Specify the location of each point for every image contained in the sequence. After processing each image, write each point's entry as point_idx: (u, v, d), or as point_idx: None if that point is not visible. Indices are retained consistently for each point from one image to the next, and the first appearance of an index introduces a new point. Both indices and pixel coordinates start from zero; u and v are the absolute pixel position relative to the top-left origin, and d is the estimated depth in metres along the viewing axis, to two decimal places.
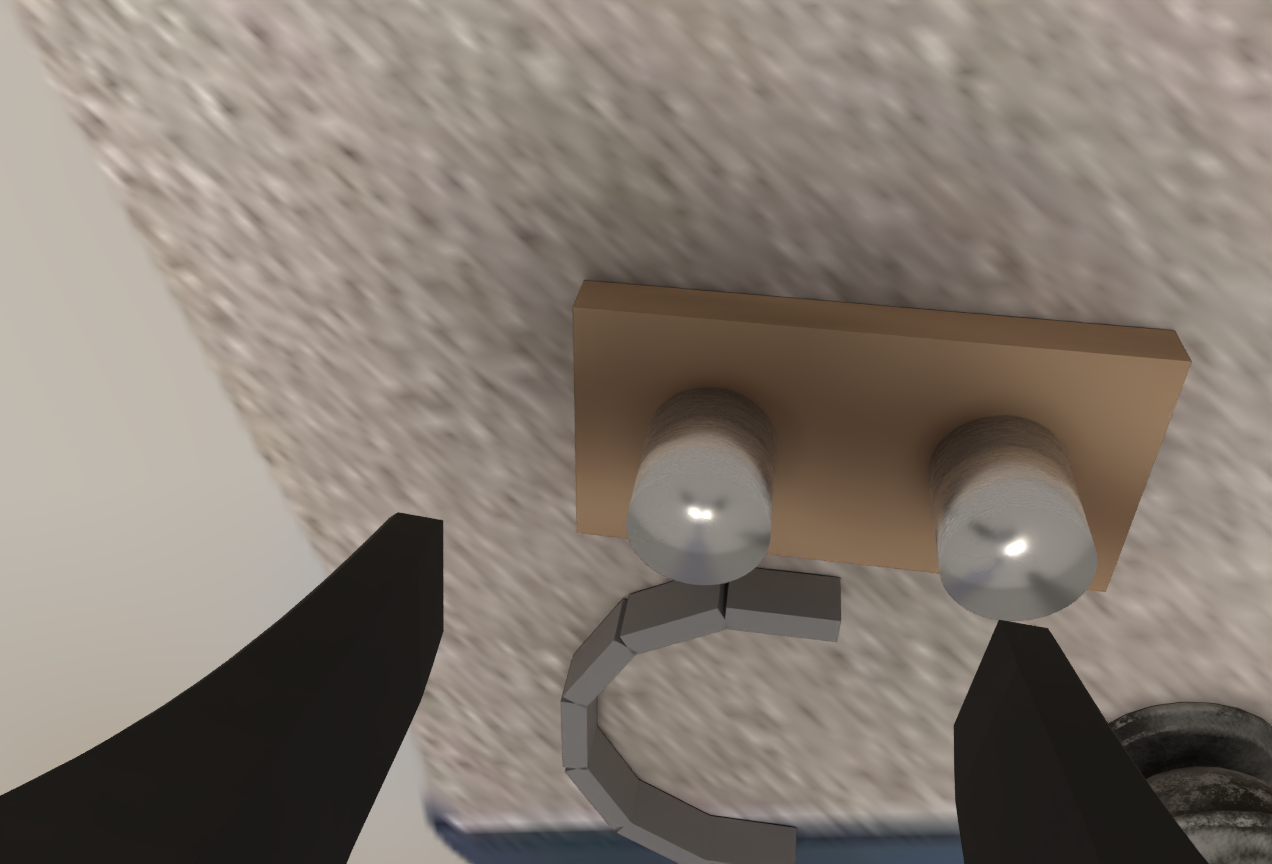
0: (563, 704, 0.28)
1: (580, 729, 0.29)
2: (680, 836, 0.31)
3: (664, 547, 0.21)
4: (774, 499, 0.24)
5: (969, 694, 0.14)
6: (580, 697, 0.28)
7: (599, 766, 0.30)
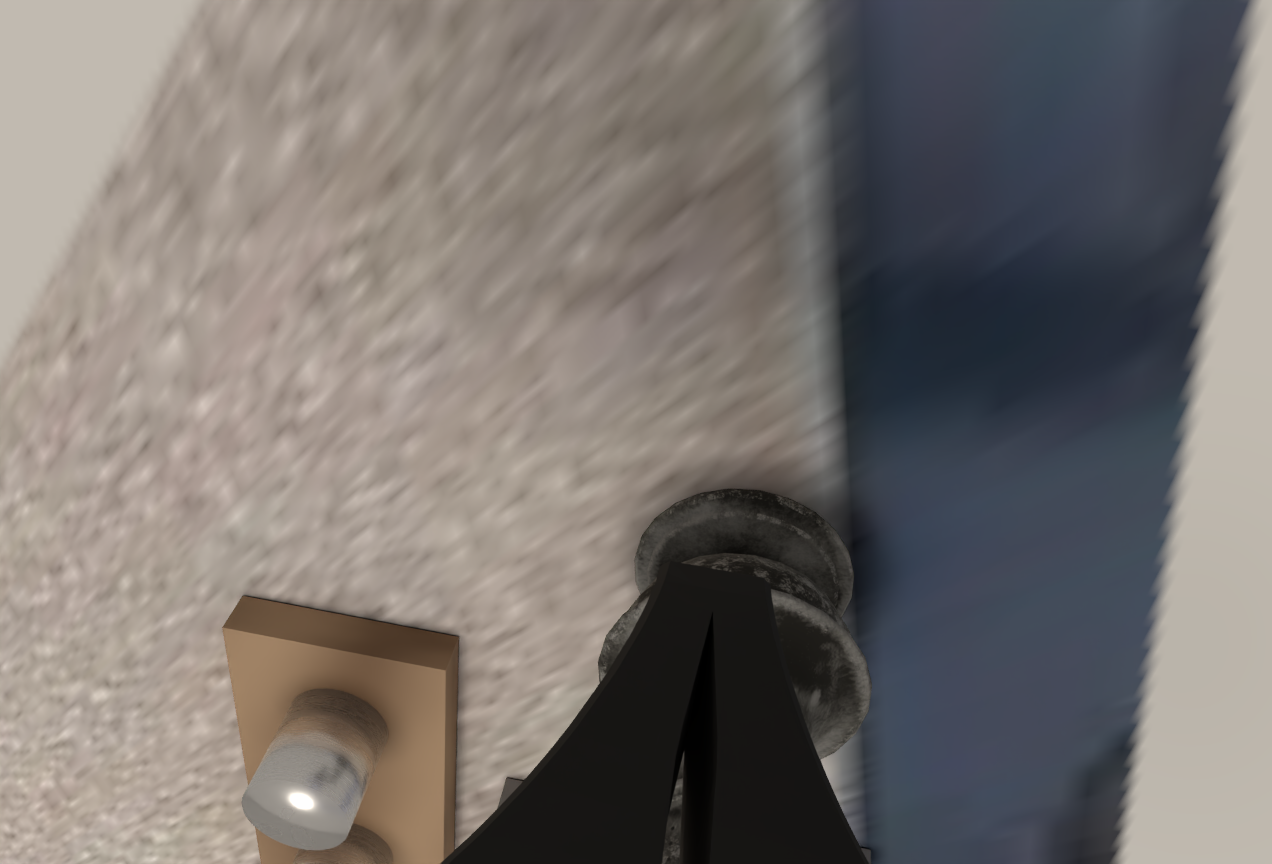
0: None
1: None
2: None
3: None
4: (391, 828, 0.32)
5: None
6: None
7: None
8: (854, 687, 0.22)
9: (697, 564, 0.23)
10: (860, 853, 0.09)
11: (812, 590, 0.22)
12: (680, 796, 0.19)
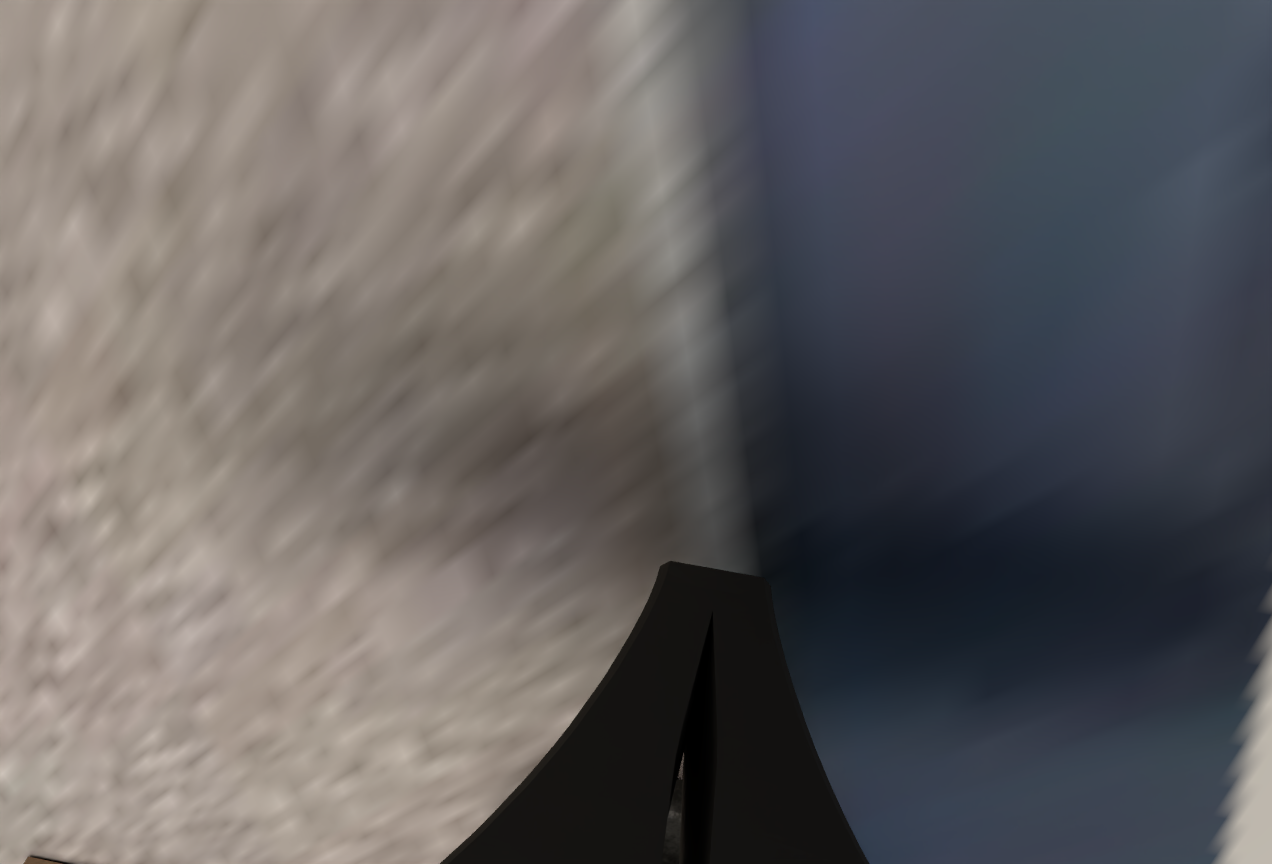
0: None
1: None
2: None
3: None
4: None
5: None
6: None
7: None
8: None
9: None
10: (860, 853, 0.09)
11: None
12: None
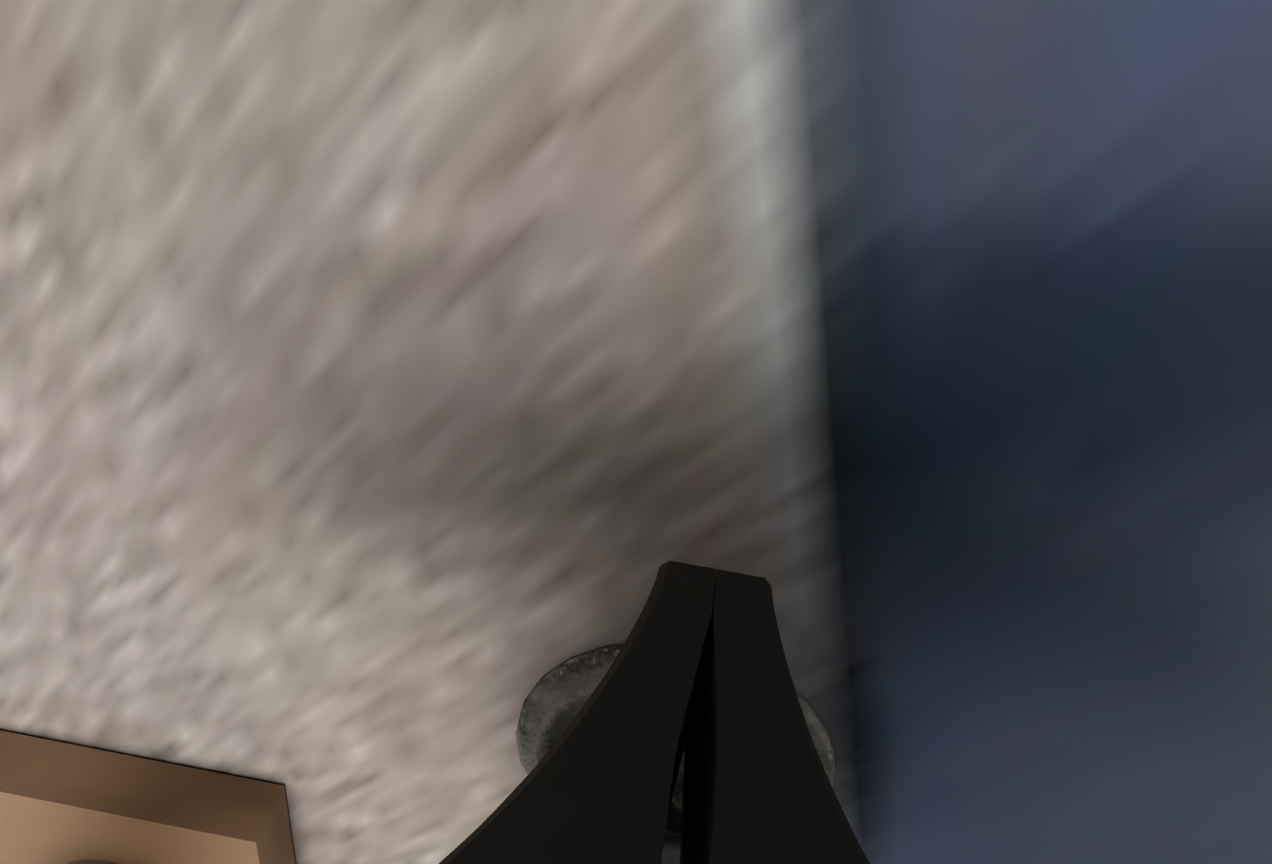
0: None
1: None
2: None
3: None
4: None
5: None
6: None
7: None
8: None
9: None
10: (861, 853, 0.09)
11: None
12: None
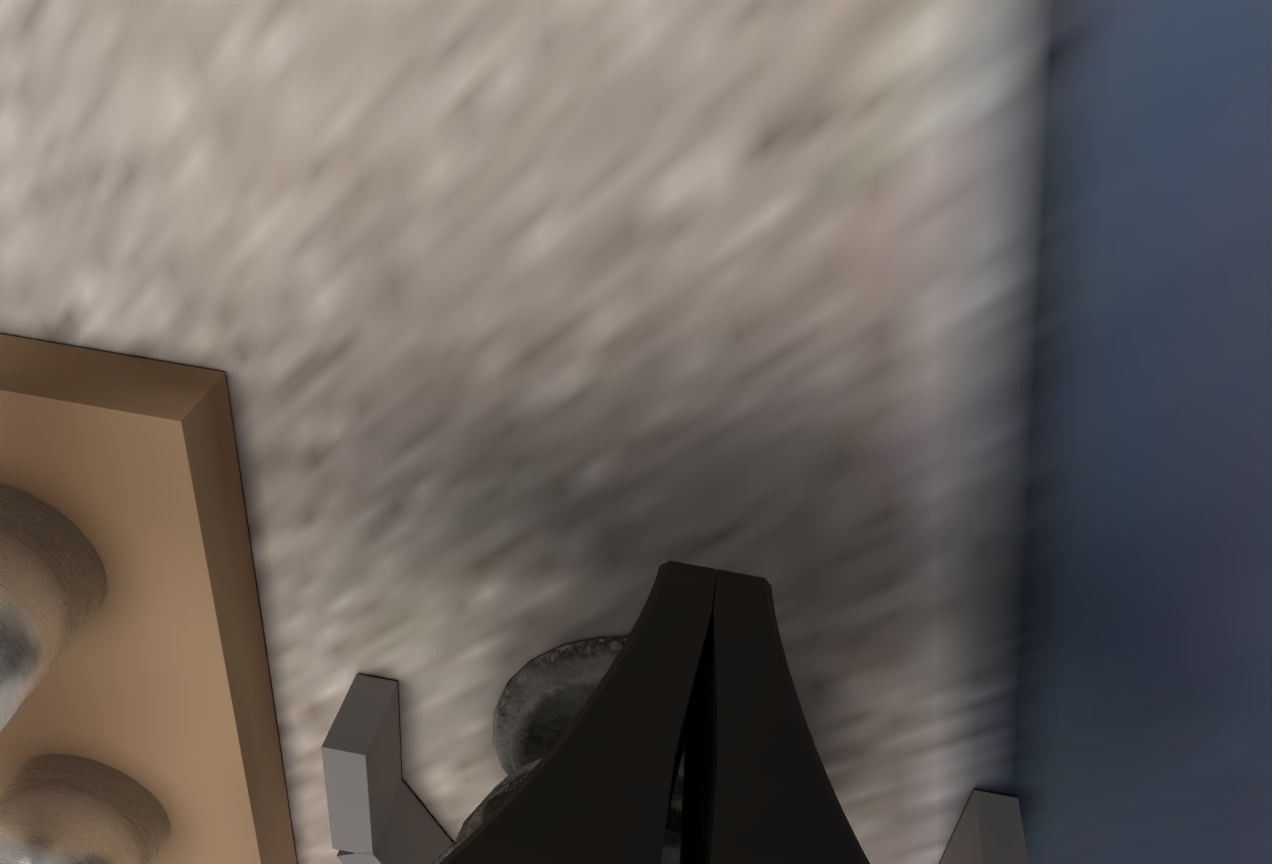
0: None
1: None
2: None
3: None
4: (155, 767, 0.18)
5: None
6: None
7: None
8: None
9: None
10: (861, 853, 0.09)
11: None
12: None
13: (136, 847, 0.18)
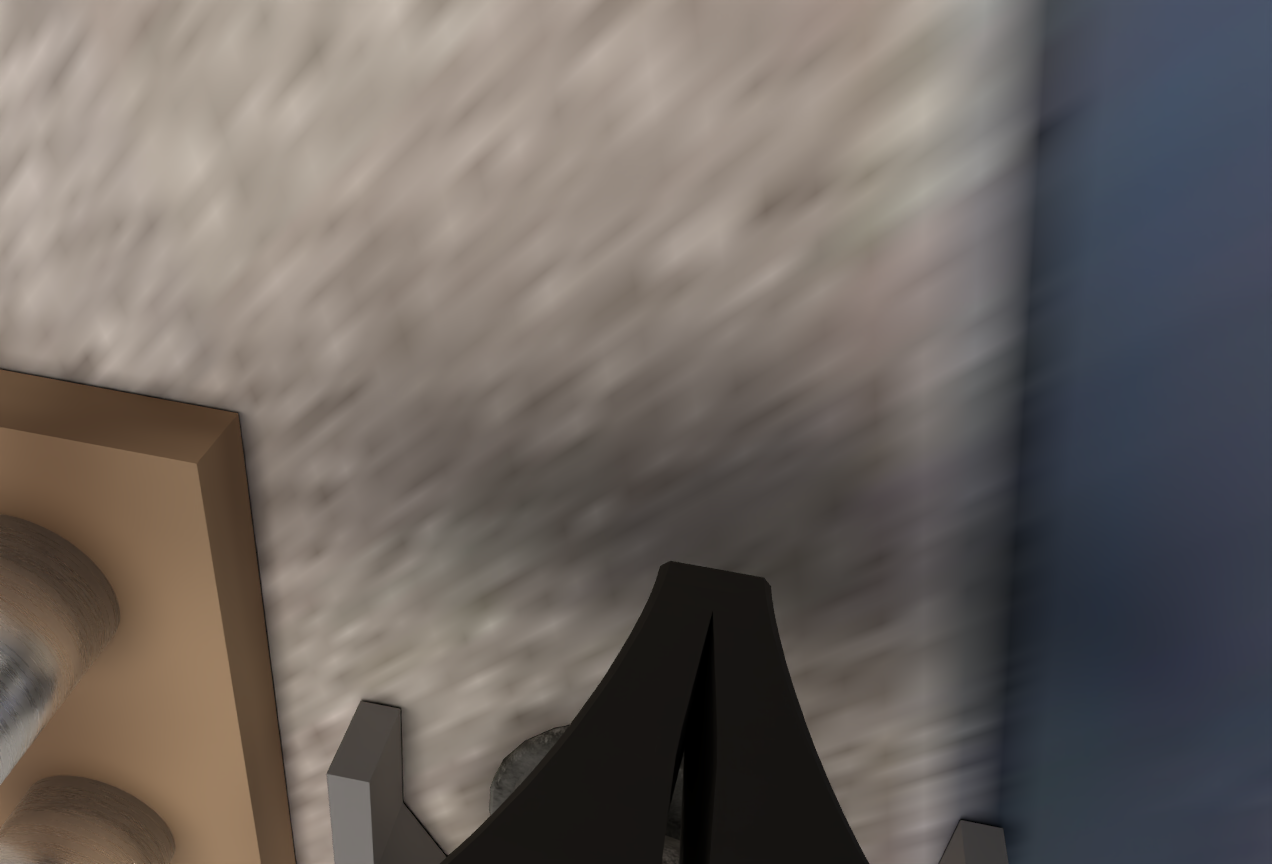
0: None
1: None
2: None
3: None
4: (162, 790, 0.18)
5: None
6: None
7: None
8: None
9: None
10: (860, 853, 0.09)
11: None
12: None
13: None
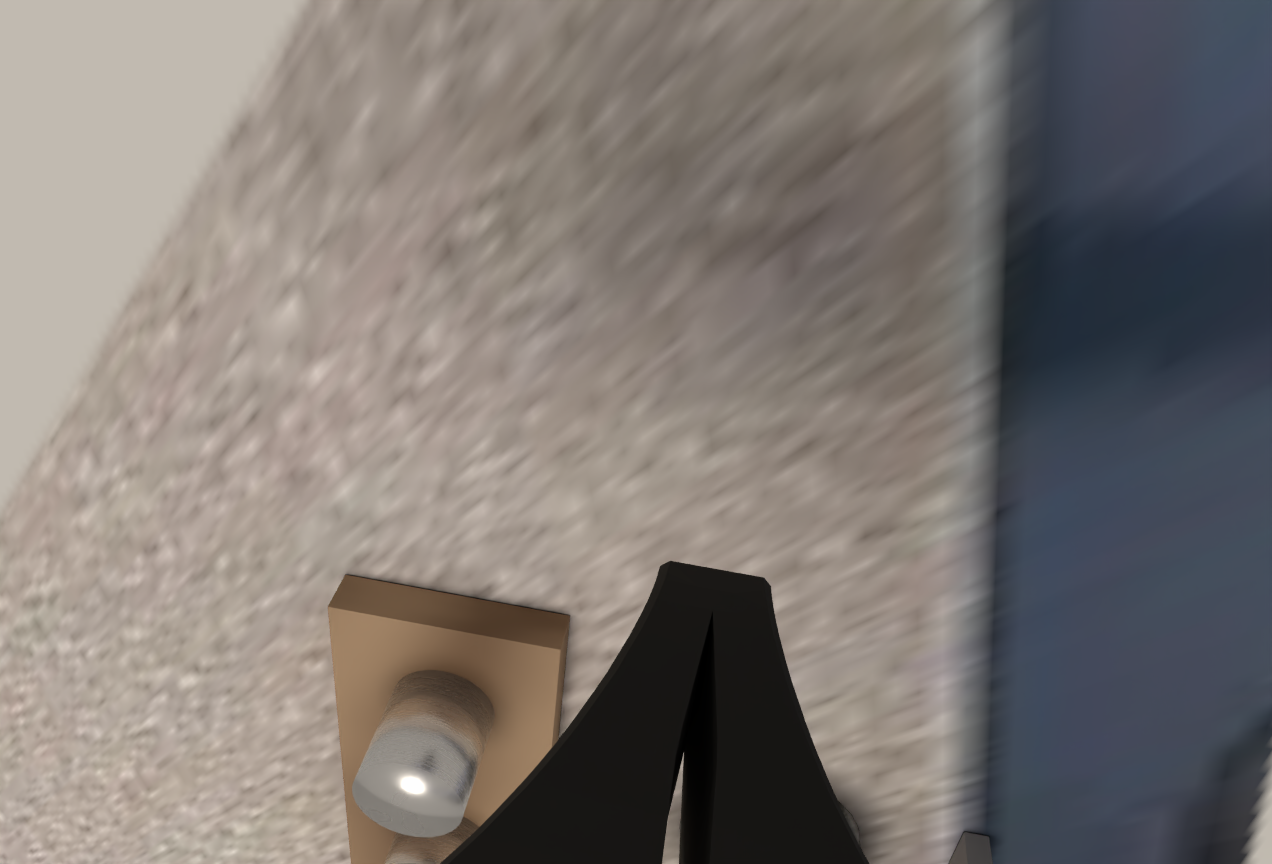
0: None
1: None
2: None
3: None
4: None
5: None
6: None
7: None
8: None
9: None
10: (860, 853, 0.09)
11: None
12: None
13: None
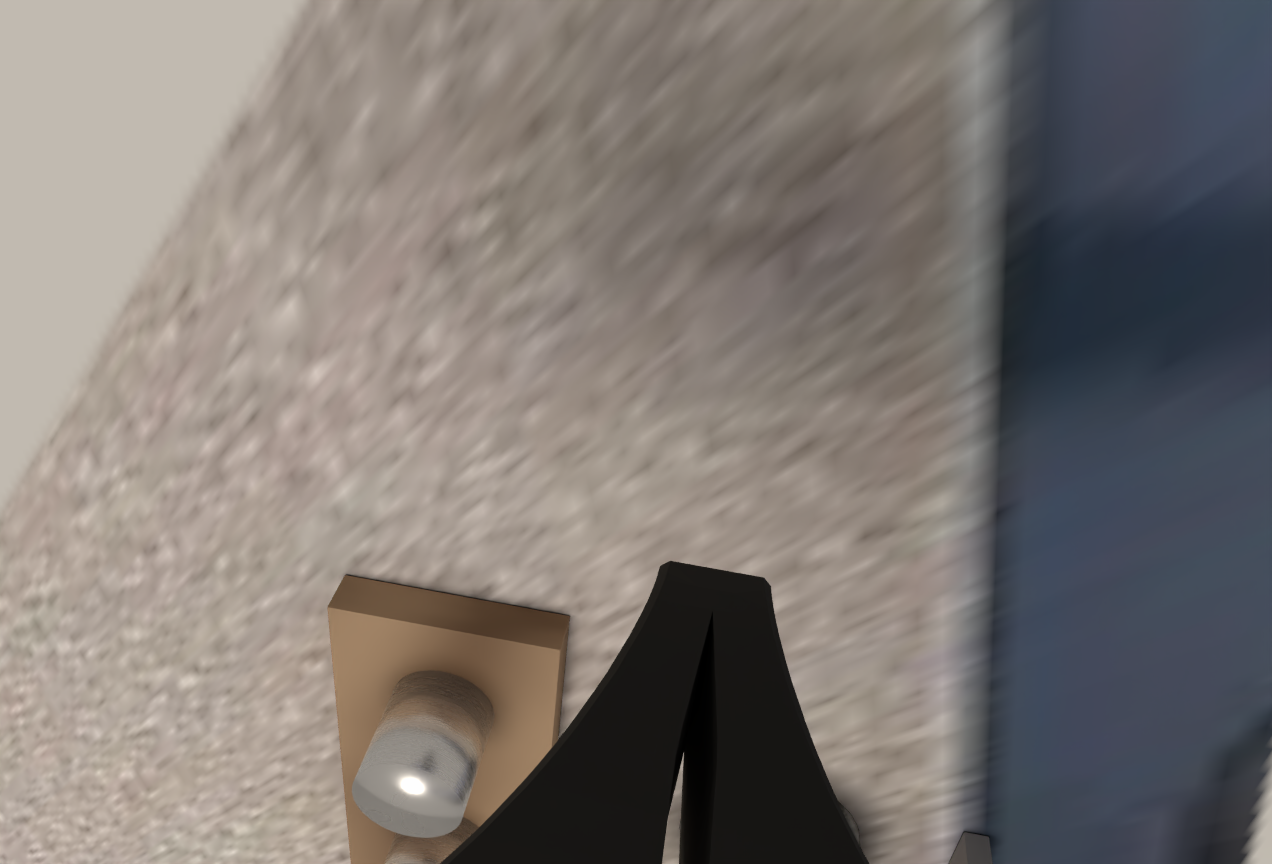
0: None
1: None
2: None
3: None
4: None
5: None
6: None
7: None
8: None
9: None
10: (860, 853, 0.09)
11: None
12: None
13: None
